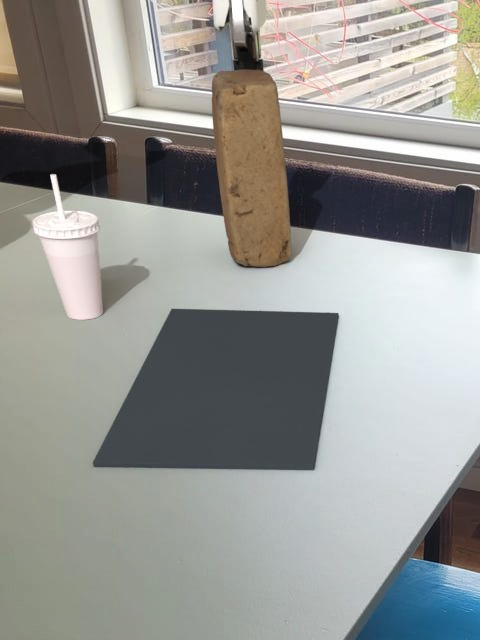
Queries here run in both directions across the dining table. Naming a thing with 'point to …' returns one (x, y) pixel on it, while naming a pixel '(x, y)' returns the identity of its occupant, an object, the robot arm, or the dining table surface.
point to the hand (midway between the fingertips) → (251, 97)
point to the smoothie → (72, 257)
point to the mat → (227, 393)
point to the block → (251, 167)
